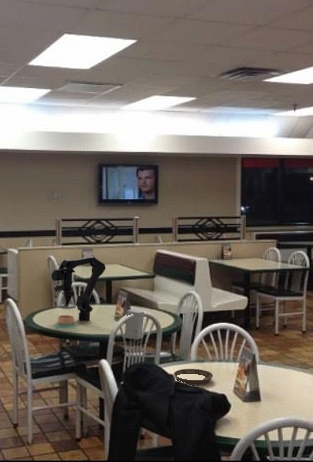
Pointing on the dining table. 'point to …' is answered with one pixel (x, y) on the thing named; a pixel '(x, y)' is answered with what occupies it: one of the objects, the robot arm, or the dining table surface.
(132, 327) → the skincare box
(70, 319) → the bowl
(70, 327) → the mat
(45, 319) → the dining table surface
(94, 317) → the dining table surface
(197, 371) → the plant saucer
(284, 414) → the dining table surface
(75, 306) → the lid
